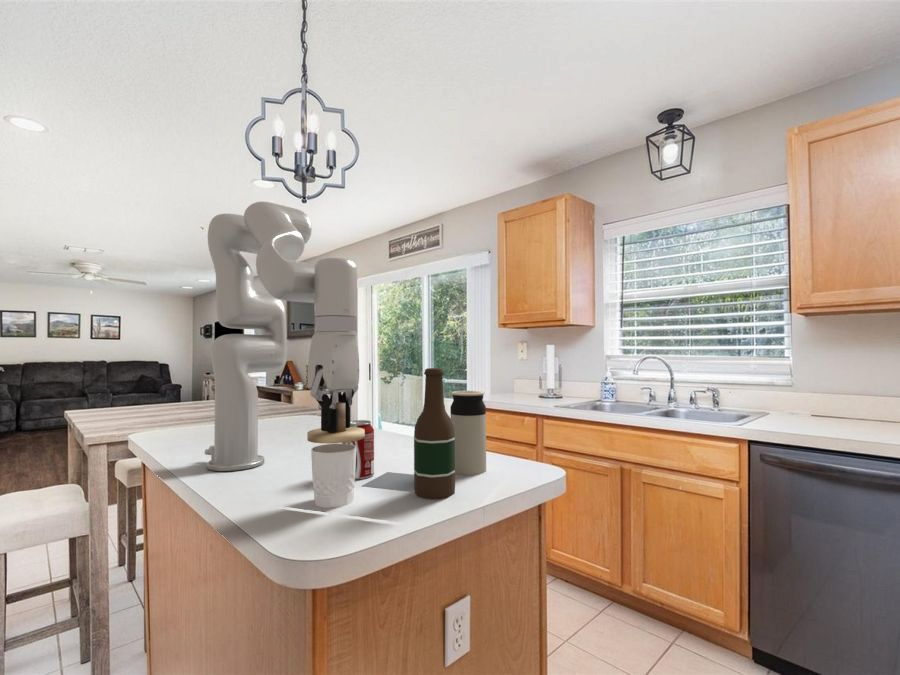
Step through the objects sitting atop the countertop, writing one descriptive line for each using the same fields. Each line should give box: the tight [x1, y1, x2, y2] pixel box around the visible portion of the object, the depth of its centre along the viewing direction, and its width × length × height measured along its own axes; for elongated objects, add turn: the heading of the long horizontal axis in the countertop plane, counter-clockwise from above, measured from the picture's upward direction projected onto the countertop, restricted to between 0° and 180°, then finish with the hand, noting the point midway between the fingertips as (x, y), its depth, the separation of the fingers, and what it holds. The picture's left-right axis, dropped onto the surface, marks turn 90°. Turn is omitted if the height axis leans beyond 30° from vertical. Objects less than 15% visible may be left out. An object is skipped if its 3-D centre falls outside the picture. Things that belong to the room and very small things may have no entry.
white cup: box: [310, 443, 356, 509], centre depth 82 cm, size 8×8×10 cm
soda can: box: [341, 419, 375, 481], centre depth 99 cm, size 7×7×12 cm
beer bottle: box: [413, 367, 456, 501], centre depth 87 cm, size 8×8×24 cm
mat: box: [361, 471, 415, 493], centre depth 94 cm, size 11×11×1 cm
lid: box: [306, 402, 365, 445], centre depth 82 cm, size 10×10×6 cm
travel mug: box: [449, 390, 487, 476], centre depth 103 cm, size 8×8×18 cm
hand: (336, 428), depth 82 cm, fingers closed on lid, 3 cm apart
